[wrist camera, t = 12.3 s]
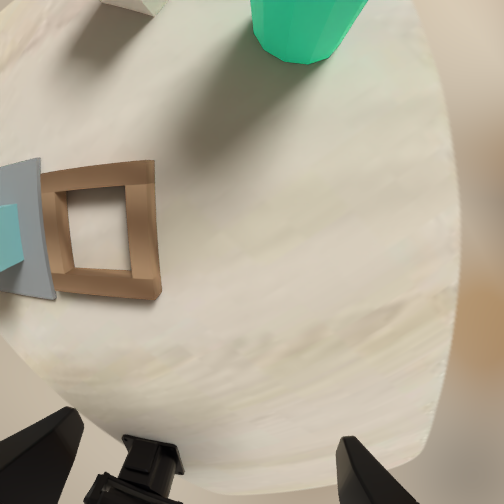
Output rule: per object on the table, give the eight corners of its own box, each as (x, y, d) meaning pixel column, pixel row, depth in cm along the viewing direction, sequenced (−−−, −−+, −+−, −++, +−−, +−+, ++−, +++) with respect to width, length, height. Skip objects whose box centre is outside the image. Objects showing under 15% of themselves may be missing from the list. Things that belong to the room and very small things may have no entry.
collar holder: (162, 291, 21) (155, 300, 19) (64, 283, 21) (54, 290, 20) (154, 160, 18) (145, 160, 17) (52, 172, 18) (40, 173, 17)
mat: (56, 297, 21) (53, 299, 21) (-9, 286, 22) (-12, 288, 21) (40, 157, 18) (36, 157, 18) (-24, 175, 19) (-28, 175, 18)
